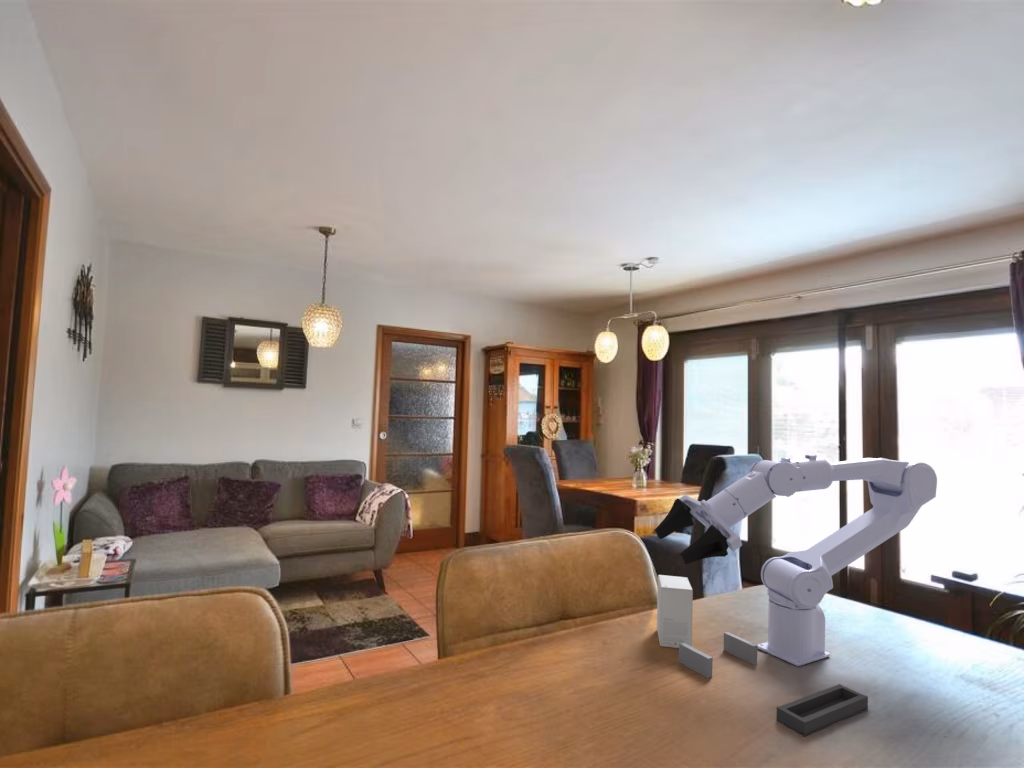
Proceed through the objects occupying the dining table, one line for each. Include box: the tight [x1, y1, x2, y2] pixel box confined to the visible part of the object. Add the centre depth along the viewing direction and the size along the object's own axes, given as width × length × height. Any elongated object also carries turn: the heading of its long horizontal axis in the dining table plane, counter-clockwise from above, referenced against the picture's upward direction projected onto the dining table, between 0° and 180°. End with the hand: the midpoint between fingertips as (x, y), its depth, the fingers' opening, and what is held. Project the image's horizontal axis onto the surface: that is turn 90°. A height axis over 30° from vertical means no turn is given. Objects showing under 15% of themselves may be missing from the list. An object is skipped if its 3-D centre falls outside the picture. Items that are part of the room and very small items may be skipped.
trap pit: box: [775, 683, 869, 737], centre depth 76 cm, size 15×4×2 cm, turn 120°
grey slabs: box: [678, 631, 758, 679], centre depth 91 cm, size 12×6×3 cm, turn 120°
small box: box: [656, 574, 694, 649], centre depth 100 cm, size 8×6×10 cm
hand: (669, 546), depth 94 cm, fingers open, 7 cm apart
